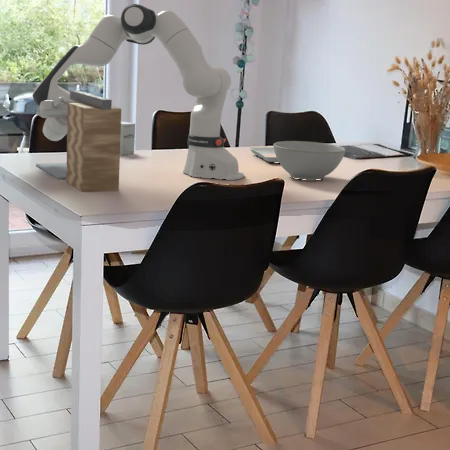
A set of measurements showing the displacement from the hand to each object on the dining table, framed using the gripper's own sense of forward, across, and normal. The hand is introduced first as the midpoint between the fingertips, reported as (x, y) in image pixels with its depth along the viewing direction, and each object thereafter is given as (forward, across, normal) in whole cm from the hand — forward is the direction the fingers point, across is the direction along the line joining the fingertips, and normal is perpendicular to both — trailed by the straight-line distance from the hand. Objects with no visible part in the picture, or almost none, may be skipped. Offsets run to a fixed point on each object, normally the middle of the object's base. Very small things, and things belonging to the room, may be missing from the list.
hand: (75, 99), depth 265 cm
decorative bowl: (+2, +84, +32) cm, 90 cm away
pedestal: (+2, 0, +32) cm, 32 cm away
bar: (+12, 0, +7) cm, 14 cm away
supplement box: (-52, +36, 0) cm, 64 cm away
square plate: (-31, +101, +13) cm, 107 cm away
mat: (-20, 0, +18) cm, 27 cm away
